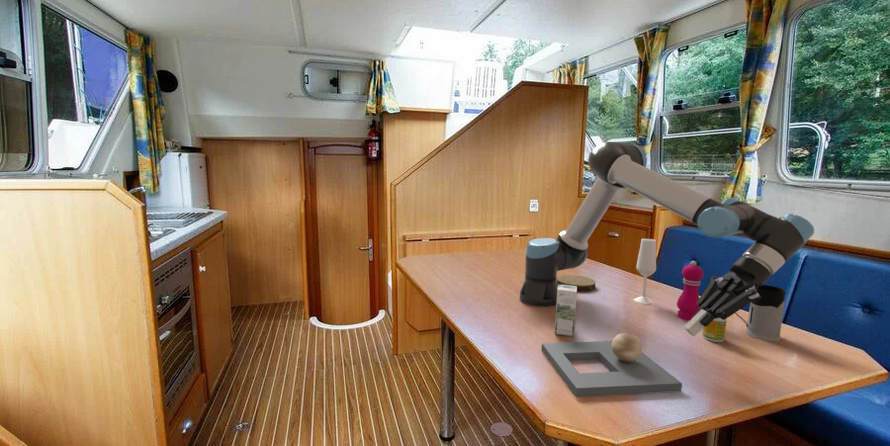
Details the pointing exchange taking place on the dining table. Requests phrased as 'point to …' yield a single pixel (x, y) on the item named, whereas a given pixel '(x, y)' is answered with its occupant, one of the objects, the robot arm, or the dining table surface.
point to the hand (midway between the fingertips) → (688, 331)
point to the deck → (618, 381)
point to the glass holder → (766, 314)
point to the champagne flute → (646, 265)
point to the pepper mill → (689, 291)
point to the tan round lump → (626, 347)
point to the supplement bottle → (715, 330)
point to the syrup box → (565, 310)
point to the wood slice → (577, 282)
